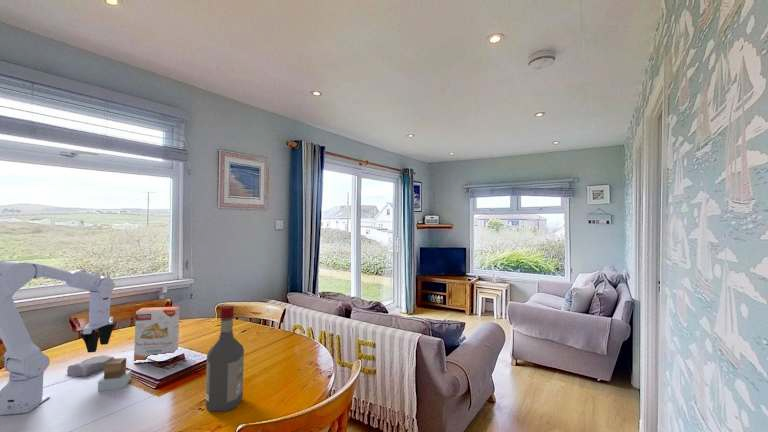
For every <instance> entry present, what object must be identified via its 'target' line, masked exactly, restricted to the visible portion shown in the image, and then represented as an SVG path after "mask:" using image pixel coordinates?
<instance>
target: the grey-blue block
mask: <svg viewBox="0 0 768 432" xmlns="http://www.w3.org/2000/svg"><path fill="white" fill-rule="evenodd" d="M131 380H132V369H131V370H130V369H128V370H127V369H126V372H125V373H124V374H123V375H122V376H121V377H120V378H112V379H104V375H103V377H101V378H100V379H99V380H98V381H97V392H102V391H111V390H119V389H124V388H125V387H126V386H127V384H128V383H129V382H130V381H131Z"/></svg>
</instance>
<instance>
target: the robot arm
mask: <svg viewBox="0 0 768 432" xmlns="http://www.w3.org/2000/svg"><path fill="white" fill-rule="evenodd" d="M40 278H46V279H51V280H55V281H56V280H57V281H62V282H65V285H66V286H67V287H70V288H75V289H80V290H84V291H87V292H89V308H88V311H89V312H88V323H87V325H86V326H85V327H84V328H83V332H80V333H79V336H80V337H81V339H82V340H83V342H84V344H85V347H86V350H87V353H96V352H97V349H98V343H99V344H100V345H101V346H103V345H108V344H109V342H110V339H111V336H112V334H113V330H114V329H115V327H116V326H117V323H116V322H114V316H111V314H110V312H111V296H112V291H113V290H114V289H115V286H116V283H114V280H113V279H112V278H111V277H109V276H101V275H100V273H96V272H95V273H91V272H87V270H86V269H83V268H82V269H81V268H80V269H75V270H72V271H68V270H64V269H60V268H57V267H53V266H49V265H46V264H42V263H41V264H40V263H32V262H27V261H11V260H1V261H0V339H1V341H2V343H3V345H4V347H5V350H6V351H5V352H4V354H3V357H4V359H5V360H4V369H5V371H7V372H8V373H9V377H8V382H7V383H6V385H5V386H3V387H2V388H1V389H0V416H7V415H18V414H27V413H29V412H31V411H32V410H34V409H35V408H36V407H37V406H39V405H41V404H42V403H43V402H45V401H46V400H48V399H49V398H50V397H51V395H43V391H44V374H45V371H46V370H47V368H48V367H49V366H50V357H49V356H48V355H47V354H45V353H43V352H42V350H41V348H39V347H38V346H37V345H36V344H35V343H34V342H33V341H32V338H31V336H30V334H29V331H28V330H27V328H26V326H25V325H26V324H25V323H24V321H23V319H22V316H21V315H20V312H19V310H18V307H17V306H16V304H15V302H14V298H13V296H14V295H15V294H16V292H17V291H18V290H20V289H21V288H23V287H24V286H25V285H27V284H28V283H29V282H30V281H32V280H38V279H40Z"/></svg>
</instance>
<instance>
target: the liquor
mask: <svg viewBox="0 0 768 432" xmlns="http://www.w3.org/2000/svg"><path fill="white" fill-rule="evenodd" d="M234 309H235V307H234V305H224V306H221V307H220V333H219V335H218V336H219V337H218V338H219V339H217V340H216V342H215V343H214V345H213V346H212V347H211V348H210V349H209V350H208V352H207V353H206V354H207V355H206V371H205V373H206V374H205V376H206V377H205V400H204V401H205V403H204V404H205V405H204V406H205V407H206V409H207V411H209V412H215V413H218V412H225V413H226V412H229V411H232V410H234V409H235V408H237V406H238V405H239V404H240V403H241V401H242V399H243V397H244V396H243V393H244V391H243V390H244V389H243V388H244V362H245V357H244V356H245V349H244V346H243V345H242V344H241V342H239V341H238V340H237V339H236V338H235V337H234V333H233V328H234V326H233V324H234V321H233V320H234Z"/></svg>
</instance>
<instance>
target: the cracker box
mask: <svg viewBox="0 0 768 432" xmlns="http://www.w3.org/2000/svg"><path fill="white" fill-rule="evenodd" d="M179 328H180V306H163V307H161V306H160V307H159V306H158V307H142V308H140V309H138V310H136V311H135V325H134V345H133V346H134V349H133V353H134V354H133V362H134V361H136V360H146V359H147V357H148V356H150V355H158V354H166V353H174V352H175V351H176V350H178V351H179V334H180V333H179V332H180V331H179Z"/></svg>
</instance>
